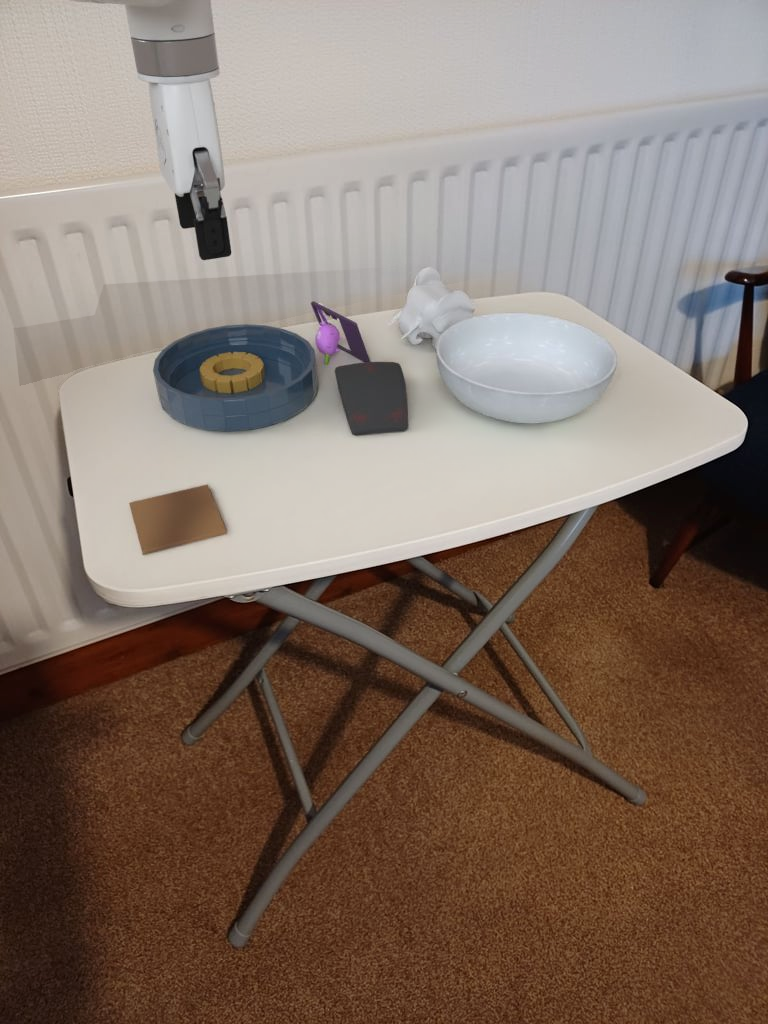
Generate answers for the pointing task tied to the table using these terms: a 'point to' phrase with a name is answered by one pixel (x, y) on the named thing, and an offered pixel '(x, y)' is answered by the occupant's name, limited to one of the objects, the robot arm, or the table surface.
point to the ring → (235, 382)
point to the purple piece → (338, 335)
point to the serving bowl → (525, 366)
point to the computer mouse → (373, 397)
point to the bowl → (263, 405)
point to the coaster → (176, 519)
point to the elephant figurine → (431, 308)
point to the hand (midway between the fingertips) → (205, 241)
